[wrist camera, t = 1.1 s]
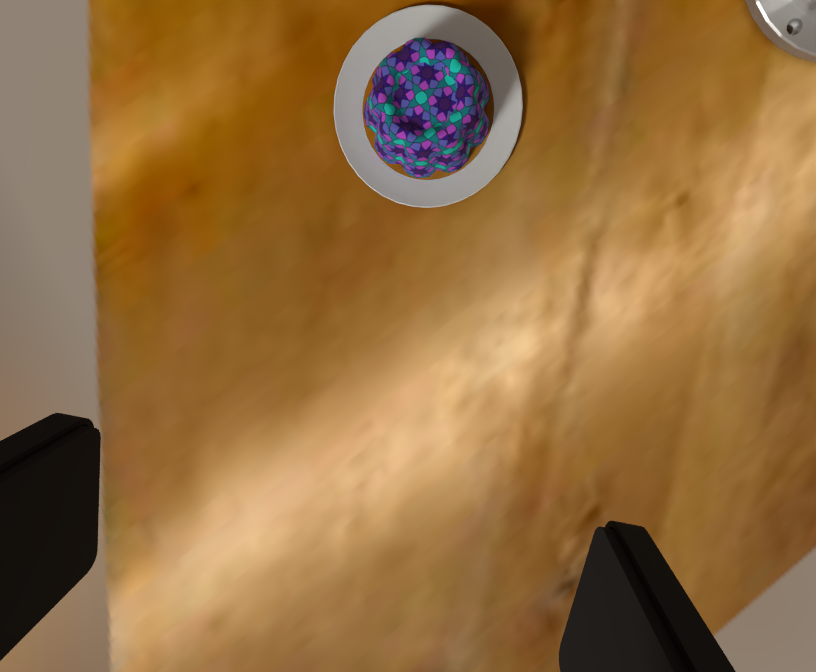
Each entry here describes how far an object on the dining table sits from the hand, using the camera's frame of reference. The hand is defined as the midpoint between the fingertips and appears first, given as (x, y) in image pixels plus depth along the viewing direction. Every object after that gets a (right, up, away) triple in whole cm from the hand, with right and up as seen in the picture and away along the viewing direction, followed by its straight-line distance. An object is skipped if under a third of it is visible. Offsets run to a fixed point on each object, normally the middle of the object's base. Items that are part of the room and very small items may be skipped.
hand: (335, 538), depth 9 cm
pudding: (+3, +18, +24) cm, 30 cm away
